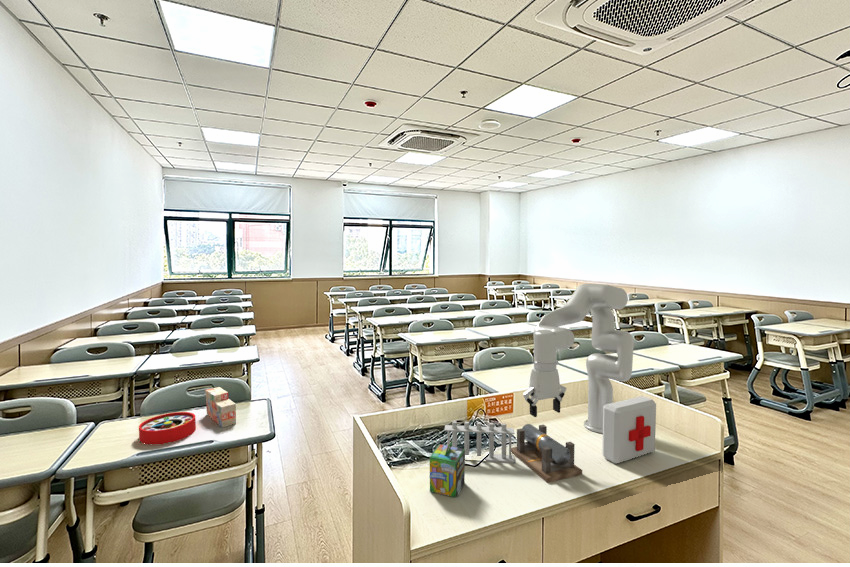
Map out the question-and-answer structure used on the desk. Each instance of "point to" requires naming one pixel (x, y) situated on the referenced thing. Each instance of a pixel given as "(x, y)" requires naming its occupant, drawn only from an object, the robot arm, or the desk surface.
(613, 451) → the bevelled white case
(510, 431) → the test tube rack
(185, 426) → the toy clock
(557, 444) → the grey cylinder
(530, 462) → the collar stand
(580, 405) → the desk surface
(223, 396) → the stack of blocks
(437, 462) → the chalk box
